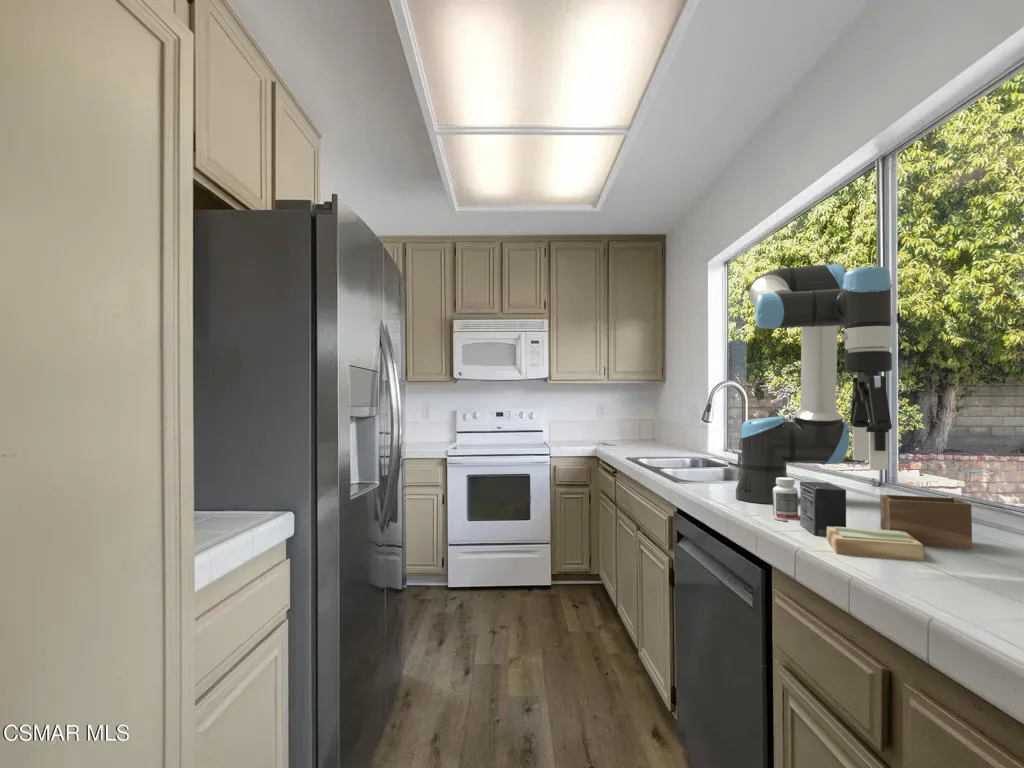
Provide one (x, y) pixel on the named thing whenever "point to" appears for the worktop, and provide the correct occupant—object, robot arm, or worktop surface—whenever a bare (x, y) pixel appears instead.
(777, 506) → the pill bottle
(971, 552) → the worktop surface
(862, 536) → the lid
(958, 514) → the tea box
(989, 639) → the worktop surface
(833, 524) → the small box
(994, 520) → the worktop surface
